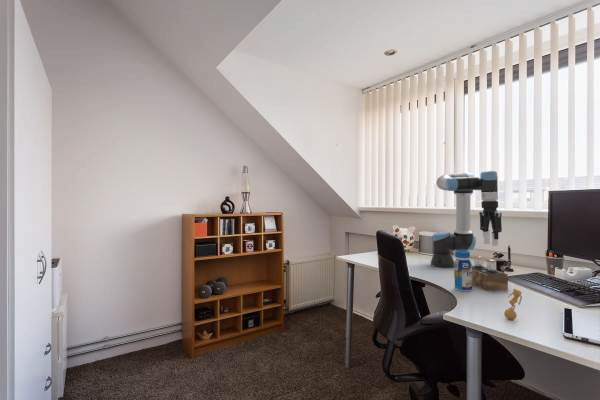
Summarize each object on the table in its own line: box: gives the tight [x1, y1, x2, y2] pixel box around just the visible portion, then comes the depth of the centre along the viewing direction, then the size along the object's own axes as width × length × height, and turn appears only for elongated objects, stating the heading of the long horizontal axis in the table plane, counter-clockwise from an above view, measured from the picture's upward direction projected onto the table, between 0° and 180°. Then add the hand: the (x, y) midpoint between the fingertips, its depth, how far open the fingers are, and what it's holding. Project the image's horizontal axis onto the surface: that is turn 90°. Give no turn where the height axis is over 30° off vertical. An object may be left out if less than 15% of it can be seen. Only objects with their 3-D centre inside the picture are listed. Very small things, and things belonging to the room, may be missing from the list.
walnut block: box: [471, 265, 509, 292], centre depth 164 cm, size 18×11×9 cm, turn 5°
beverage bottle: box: [453, 250, 473, 292], centre depth 158 cm, size 8×8×20 cm
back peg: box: [473, 255, 484, 269], centre depth 169 cm, size 4×4×8 cm
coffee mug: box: [487, 257, 506, 273], centre depth 183 cm, size 12×9×10 cm
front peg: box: [486, 258, 496, 273], centre depth 159 cm, size 4×4×8 cm
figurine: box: [503, 288, 523, 321], centre depth 119 cm, size 8×6×12 cm
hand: (491, 244), depth 159 cm, fingers open, 5 cm apart
